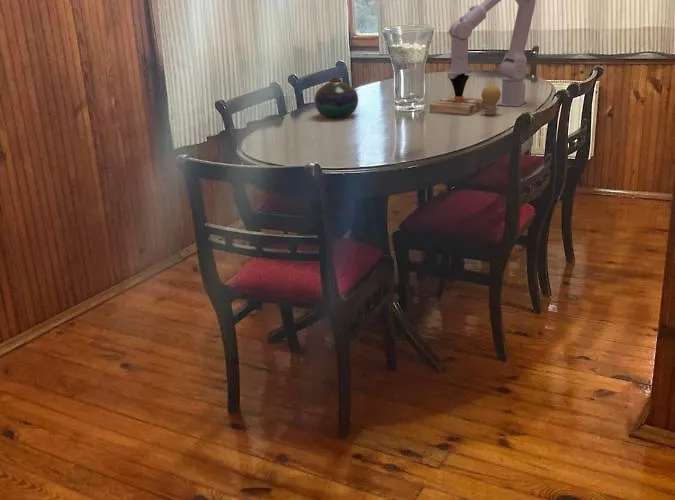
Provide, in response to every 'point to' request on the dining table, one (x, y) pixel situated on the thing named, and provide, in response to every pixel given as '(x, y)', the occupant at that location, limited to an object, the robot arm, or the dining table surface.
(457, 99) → the plug mid
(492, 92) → the light bulb
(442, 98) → the plug far
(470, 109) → the socket board
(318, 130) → the dining table surface
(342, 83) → the vase
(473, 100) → the plug near
